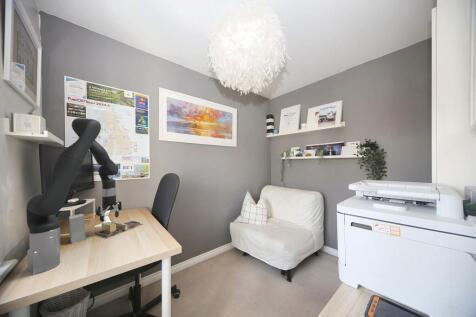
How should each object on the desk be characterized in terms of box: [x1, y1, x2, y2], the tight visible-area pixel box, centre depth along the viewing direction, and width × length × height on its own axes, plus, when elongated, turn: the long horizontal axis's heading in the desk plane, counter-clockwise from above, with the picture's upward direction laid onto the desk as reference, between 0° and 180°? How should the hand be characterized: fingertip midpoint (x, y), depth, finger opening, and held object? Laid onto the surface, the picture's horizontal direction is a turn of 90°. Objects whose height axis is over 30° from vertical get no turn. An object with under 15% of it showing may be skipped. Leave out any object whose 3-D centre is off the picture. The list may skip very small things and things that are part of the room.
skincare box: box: [68, 213, 87, 245], centre depth 102 cm, size 8×7×16 cm
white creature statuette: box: [94, 210, 112, 228], centre depth 126 cm, size 10×9×12 cm
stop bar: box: [101, 222, 116, 235], centre depth 111 cm, size 9×4×6 cm, turn 67°
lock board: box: [91, 220, 144, 240], centre depth 117 cm, size 25×16×5 cm, turn 157°
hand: (109, 219), depth 111 cm, fingers open, 8 cm apart
